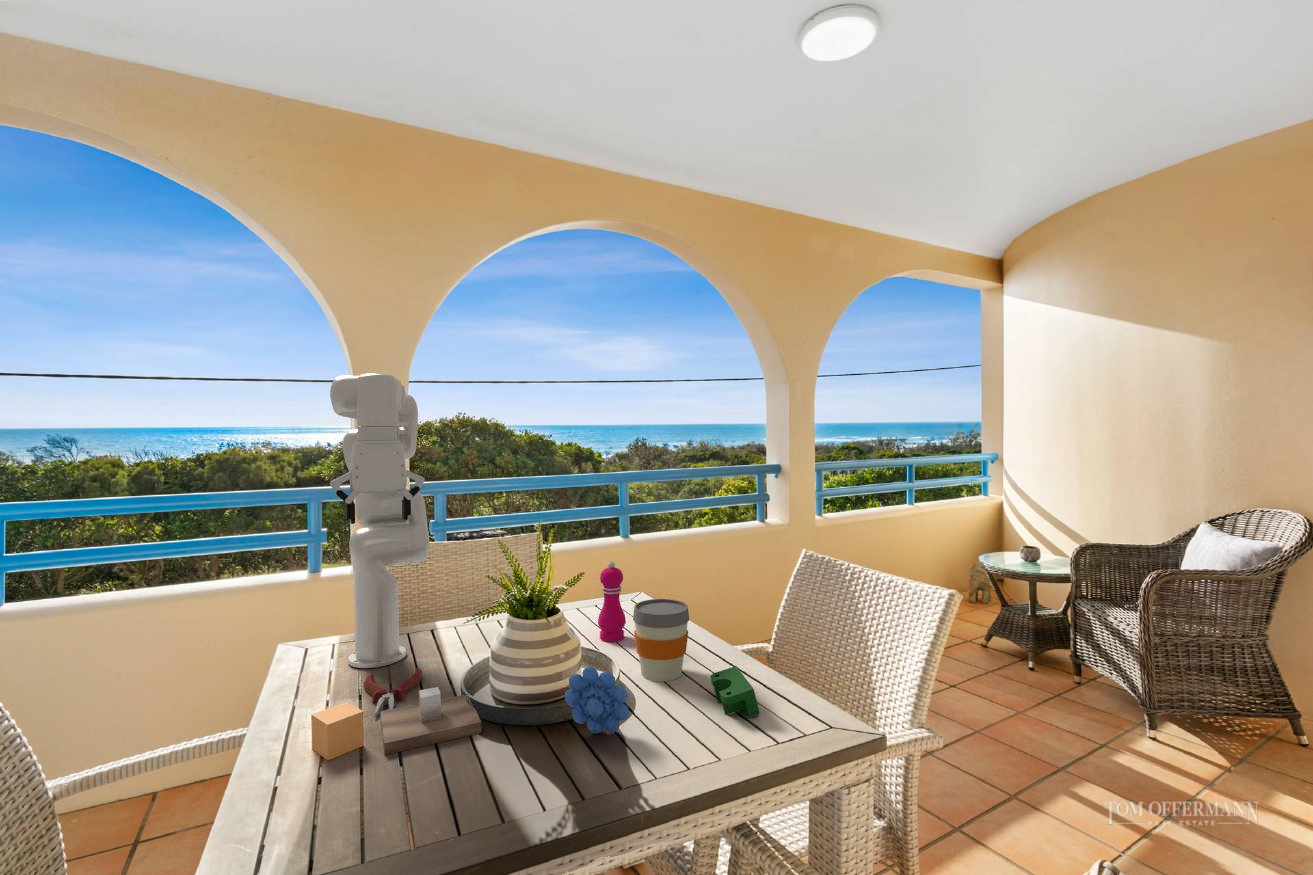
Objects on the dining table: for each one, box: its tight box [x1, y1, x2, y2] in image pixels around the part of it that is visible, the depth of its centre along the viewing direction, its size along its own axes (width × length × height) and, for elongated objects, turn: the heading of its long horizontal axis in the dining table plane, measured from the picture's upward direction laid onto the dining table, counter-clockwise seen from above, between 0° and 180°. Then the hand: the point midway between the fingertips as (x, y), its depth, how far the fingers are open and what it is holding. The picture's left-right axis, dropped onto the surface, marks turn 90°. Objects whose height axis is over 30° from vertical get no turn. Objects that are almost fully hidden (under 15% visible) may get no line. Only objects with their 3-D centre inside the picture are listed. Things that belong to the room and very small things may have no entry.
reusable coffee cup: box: [632, 598, 690, 683], centre depth 136 cm, size 13×13×15 cm
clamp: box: [709, 665, 760, 718], centre depth 120 cm, size 12×6×9 cm, turn 4°
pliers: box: [363, 667, 423, 718], centre depth 125 cm, size 12×20×3 cm, turn 17°
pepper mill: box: [597, 561, 627, 643], centre depth 159 cm, size 7×7×20 cm
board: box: [379, 686, 482, 756], centre depth 112 cm, size 13×16×6 cm
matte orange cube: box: [310, 701, 365, 761], centre depth 106 cm, size 6×6×6 cm
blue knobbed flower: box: [564, 666, 630, 735], centre depth 109 cm, size 12×7×12 cm, turn 87°
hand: (379, 521), depth 123 cm, fingers open, 9 cm apart
